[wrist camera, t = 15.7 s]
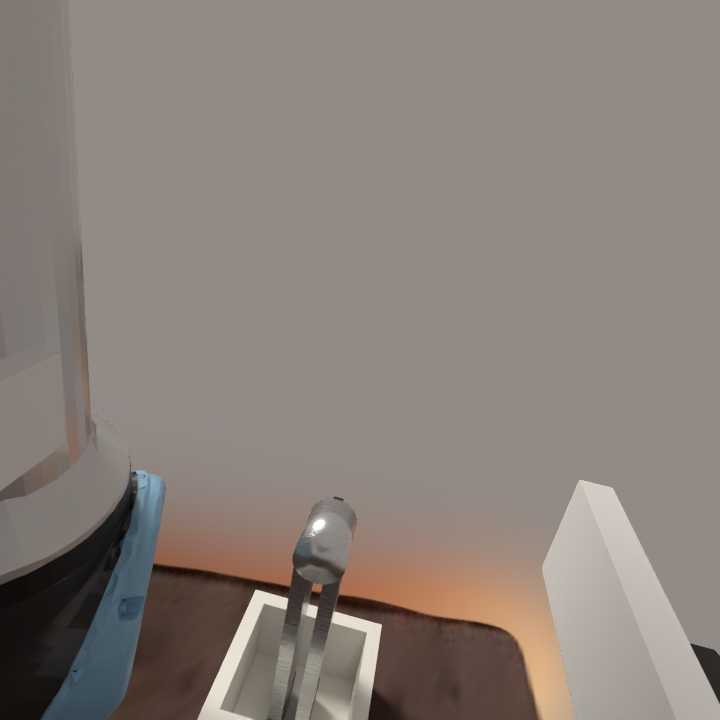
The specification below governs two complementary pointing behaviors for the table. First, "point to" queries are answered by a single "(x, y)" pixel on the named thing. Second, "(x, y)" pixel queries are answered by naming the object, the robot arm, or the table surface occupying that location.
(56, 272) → the robot arm
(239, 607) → the table surface
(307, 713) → the tongs
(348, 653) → the caddy
